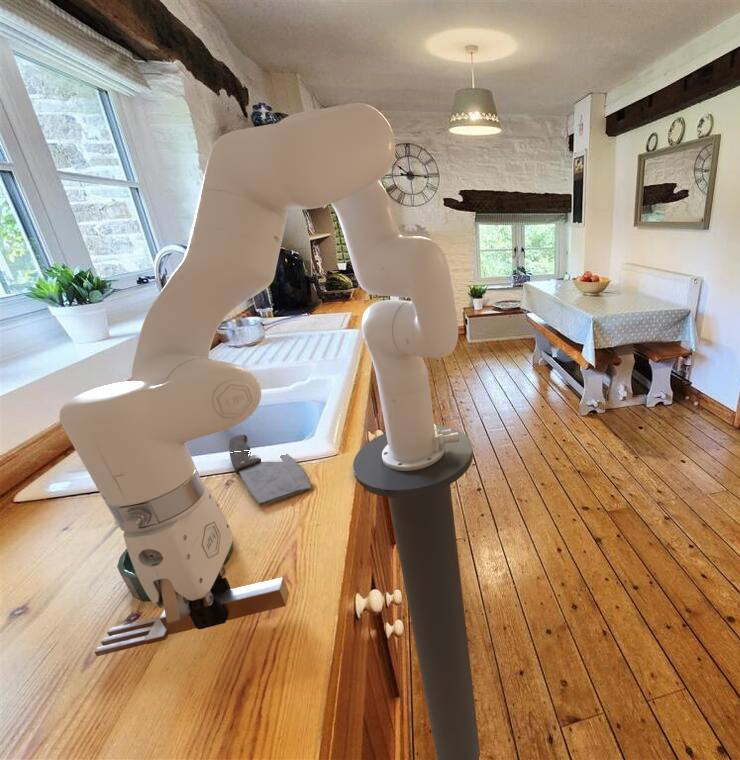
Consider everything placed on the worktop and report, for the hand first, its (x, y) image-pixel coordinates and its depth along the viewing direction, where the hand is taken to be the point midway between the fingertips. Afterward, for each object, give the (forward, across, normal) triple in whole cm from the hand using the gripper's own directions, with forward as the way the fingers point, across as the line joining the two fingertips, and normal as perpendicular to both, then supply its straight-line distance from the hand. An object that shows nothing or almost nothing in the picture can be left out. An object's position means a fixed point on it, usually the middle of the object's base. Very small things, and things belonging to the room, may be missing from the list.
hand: (217, 613), depth 51 cm
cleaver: (+3, +36, +4) cm, 37 cm away
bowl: (+2, +12, +8) cm, 14 cm away
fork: (+1, 0, +3) cm, 3 cm away
